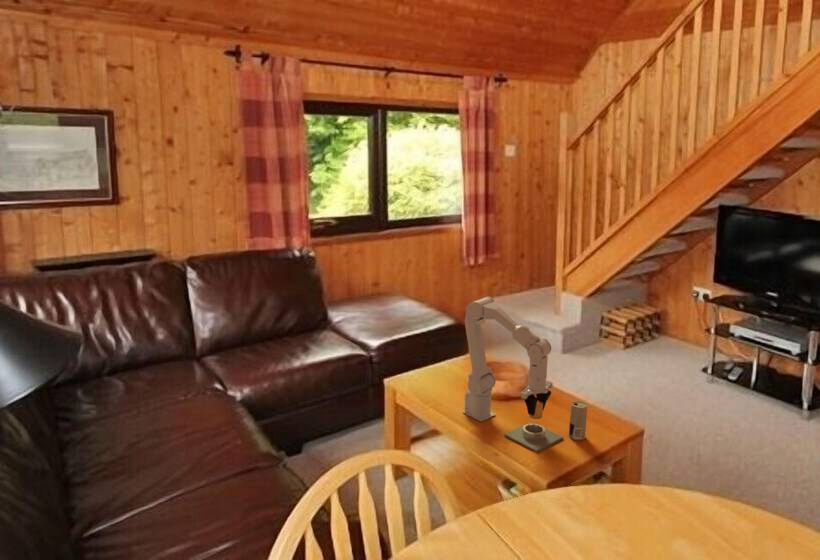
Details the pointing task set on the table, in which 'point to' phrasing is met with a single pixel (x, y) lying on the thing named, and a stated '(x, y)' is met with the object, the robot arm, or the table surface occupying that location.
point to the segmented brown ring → (533, 436)
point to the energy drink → (578, 420)
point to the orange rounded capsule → (538, 410)
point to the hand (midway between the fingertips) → (535, 412)
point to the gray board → (533, 445)
